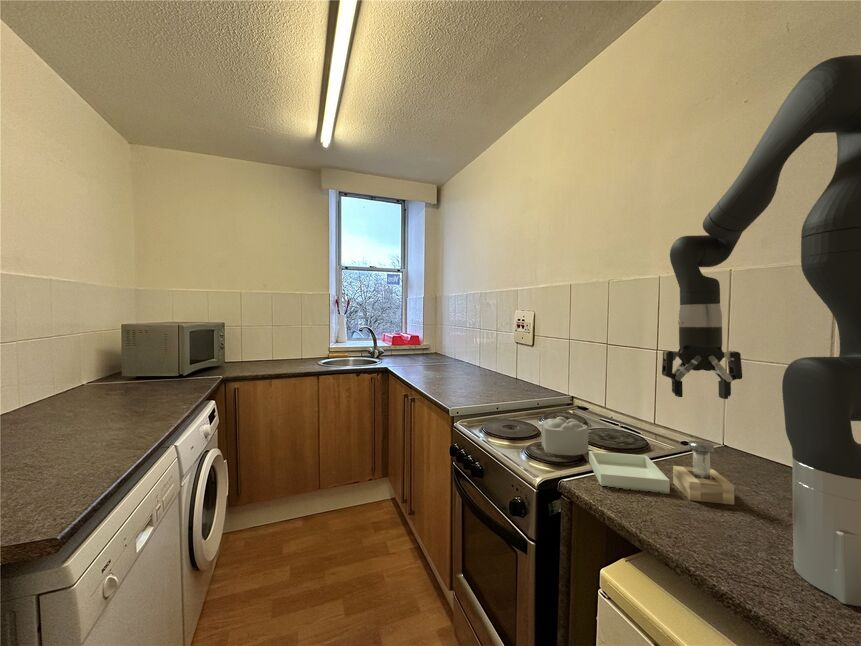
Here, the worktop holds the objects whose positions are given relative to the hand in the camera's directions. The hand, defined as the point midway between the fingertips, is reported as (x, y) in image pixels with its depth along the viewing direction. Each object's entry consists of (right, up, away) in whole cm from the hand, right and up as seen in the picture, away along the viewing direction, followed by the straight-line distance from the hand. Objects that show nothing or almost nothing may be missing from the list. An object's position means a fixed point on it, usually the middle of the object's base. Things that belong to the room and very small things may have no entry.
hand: (700, 397), depth 74 cm
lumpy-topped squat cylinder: (-19, -22, +27) cm, 40 cm away
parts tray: (-12, -22, +9) cm, 26 cm away
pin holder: (0, -21, 0) cm, 21 cm away
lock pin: (0, -22, 0) cm, 22 cm away
